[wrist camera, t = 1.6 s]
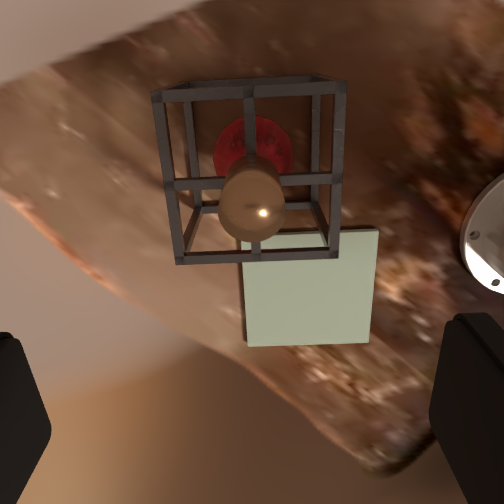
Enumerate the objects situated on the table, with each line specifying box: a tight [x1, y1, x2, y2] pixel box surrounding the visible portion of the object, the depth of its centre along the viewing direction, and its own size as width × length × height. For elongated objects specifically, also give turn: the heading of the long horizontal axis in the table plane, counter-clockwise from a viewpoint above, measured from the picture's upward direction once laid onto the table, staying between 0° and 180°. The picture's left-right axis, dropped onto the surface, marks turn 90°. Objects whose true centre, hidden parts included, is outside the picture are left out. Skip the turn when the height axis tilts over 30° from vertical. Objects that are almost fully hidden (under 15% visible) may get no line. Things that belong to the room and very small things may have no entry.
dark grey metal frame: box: [150, 74, 347, 265], centre depth 26 cm, size 10×10×15 cm
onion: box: [213, 115, 294, 176], centre depth 29 cm, size 6×6×8 cm
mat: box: [241, 229, 379, 347], centre depth 38 cm, size 12×12×1 cm
